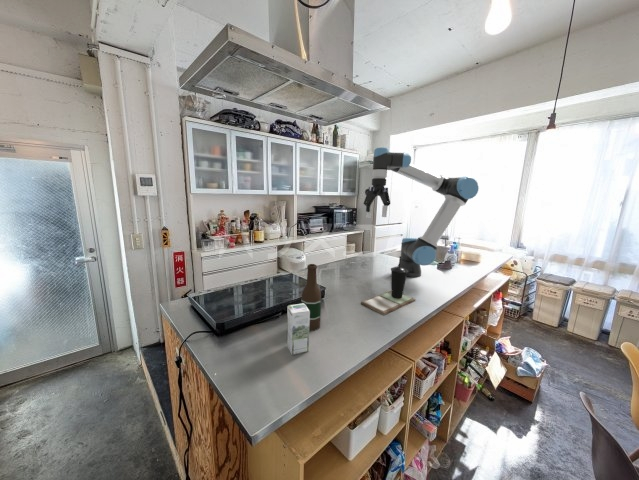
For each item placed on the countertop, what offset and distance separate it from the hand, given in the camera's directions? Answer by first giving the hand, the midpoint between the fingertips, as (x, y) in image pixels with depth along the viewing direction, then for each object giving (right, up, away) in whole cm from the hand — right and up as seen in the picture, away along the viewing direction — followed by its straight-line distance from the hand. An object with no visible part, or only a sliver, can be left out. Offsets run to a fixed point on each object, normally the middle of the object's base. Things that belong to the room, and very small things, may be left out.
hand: (376, 217), depth 140 cm
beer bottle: (-35, -45, -44) cm, 72 cm away
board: (+1, -42, -22) cm, 47 cm away
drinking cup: (+6, -40, -18) cm, 44 cm away
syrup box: (-39, -48, -58) cm, 85 cm away
